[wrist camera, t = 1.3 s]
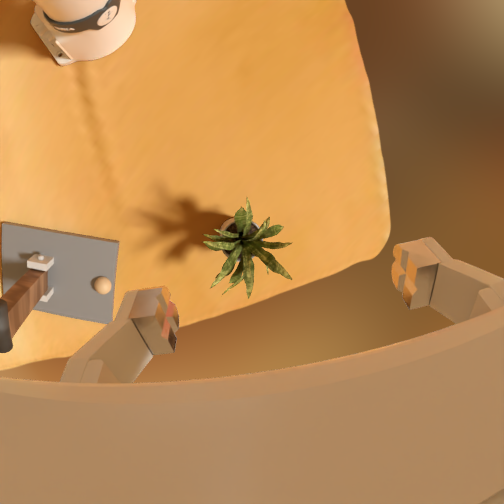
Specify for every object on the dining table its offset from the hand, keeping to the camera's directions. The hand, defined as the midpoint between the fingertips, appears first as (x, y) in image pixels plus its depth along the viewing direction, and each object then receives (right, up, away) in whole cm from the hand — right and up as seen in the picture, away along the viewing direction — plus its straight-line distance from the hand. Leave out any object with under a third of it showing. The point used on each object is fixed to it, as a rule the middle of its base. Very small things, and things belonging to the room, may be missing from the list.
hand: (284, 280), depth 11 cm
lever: (-38, -3, +34) cm, 51 cm away
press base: (-37, -3, +38) cm, 53 cm away
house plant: (-5, +6, +45) cm, 45 cm away
